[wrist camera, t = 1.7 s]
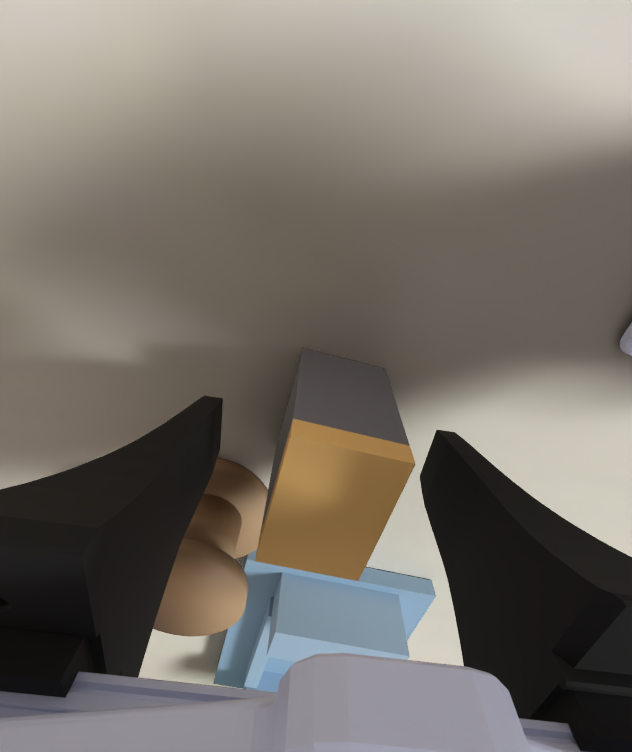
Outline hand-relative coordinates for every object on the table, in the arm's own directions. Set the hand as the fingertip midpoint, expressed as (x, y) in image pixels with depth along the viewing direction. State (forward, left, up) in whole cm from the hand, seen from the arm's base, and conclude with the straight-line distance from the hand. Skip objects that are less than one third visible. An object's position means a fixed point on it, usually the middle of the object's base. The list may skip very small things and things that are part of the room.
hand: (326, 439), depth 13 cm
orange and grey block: (0, 0, -2) cm, 2 cm away
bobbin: (+3, +6, -2) cm, 7 cm away
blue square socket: (-3, +13, -2) cm, 14 cm away
